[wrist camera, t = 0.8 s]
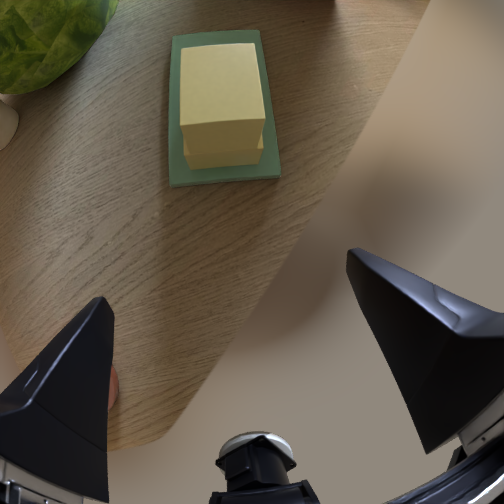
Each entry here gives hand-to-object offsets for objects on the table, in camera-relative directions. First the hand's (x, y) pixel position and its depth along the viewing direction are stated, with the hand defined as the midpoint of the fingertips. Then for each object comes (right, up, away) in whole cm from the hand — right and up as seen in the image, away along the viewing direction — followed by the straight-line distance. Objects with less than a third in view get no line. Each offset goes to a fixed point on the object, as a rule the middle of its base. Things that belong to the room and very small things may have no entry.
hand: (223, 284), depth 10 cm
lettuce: (-21, +28, +12) cm, 37 cm away
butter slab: (-1, +11, +9) cm, 14 cm away
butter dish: (-2, +15, +13) cm, 20 cm away
